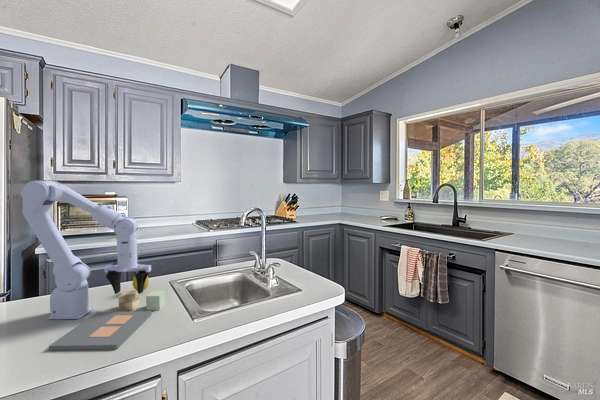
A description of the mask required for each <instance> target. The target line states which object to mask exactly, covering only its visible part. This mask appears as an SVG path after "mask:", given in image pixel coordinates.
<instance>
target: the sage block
mask: <svg viewBox="0 0 600 400" xmlns="http://www.w3.org/2000/svg"><path fill="white" fill-rule="evenodd" d="M145 303H146V304H145V305H146V306H145V307H146V310H145V311H161V310H162V309H163V307H164V306H166V290H152V291H150V292H149V293H148V294H147V295H145Z"/></svg>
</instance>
